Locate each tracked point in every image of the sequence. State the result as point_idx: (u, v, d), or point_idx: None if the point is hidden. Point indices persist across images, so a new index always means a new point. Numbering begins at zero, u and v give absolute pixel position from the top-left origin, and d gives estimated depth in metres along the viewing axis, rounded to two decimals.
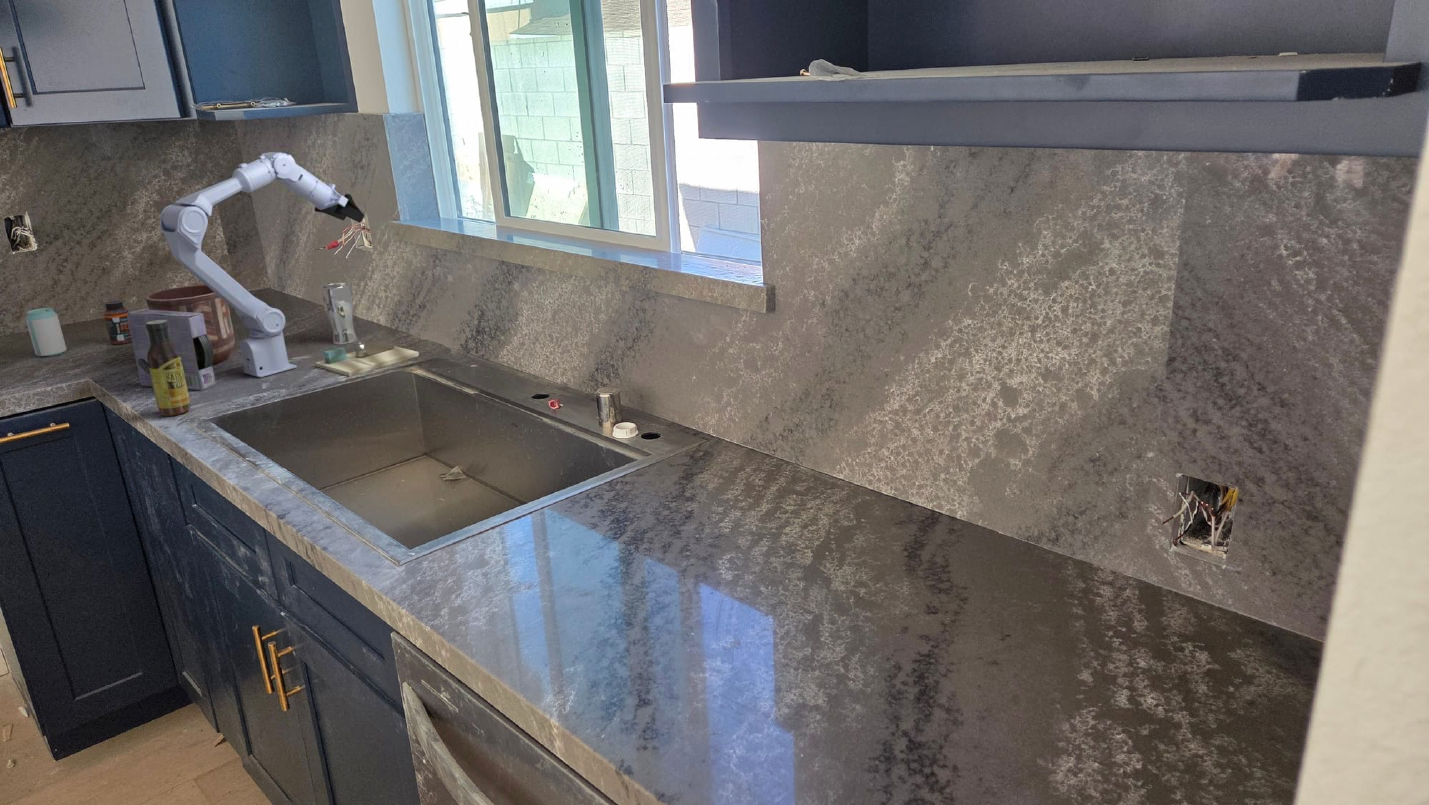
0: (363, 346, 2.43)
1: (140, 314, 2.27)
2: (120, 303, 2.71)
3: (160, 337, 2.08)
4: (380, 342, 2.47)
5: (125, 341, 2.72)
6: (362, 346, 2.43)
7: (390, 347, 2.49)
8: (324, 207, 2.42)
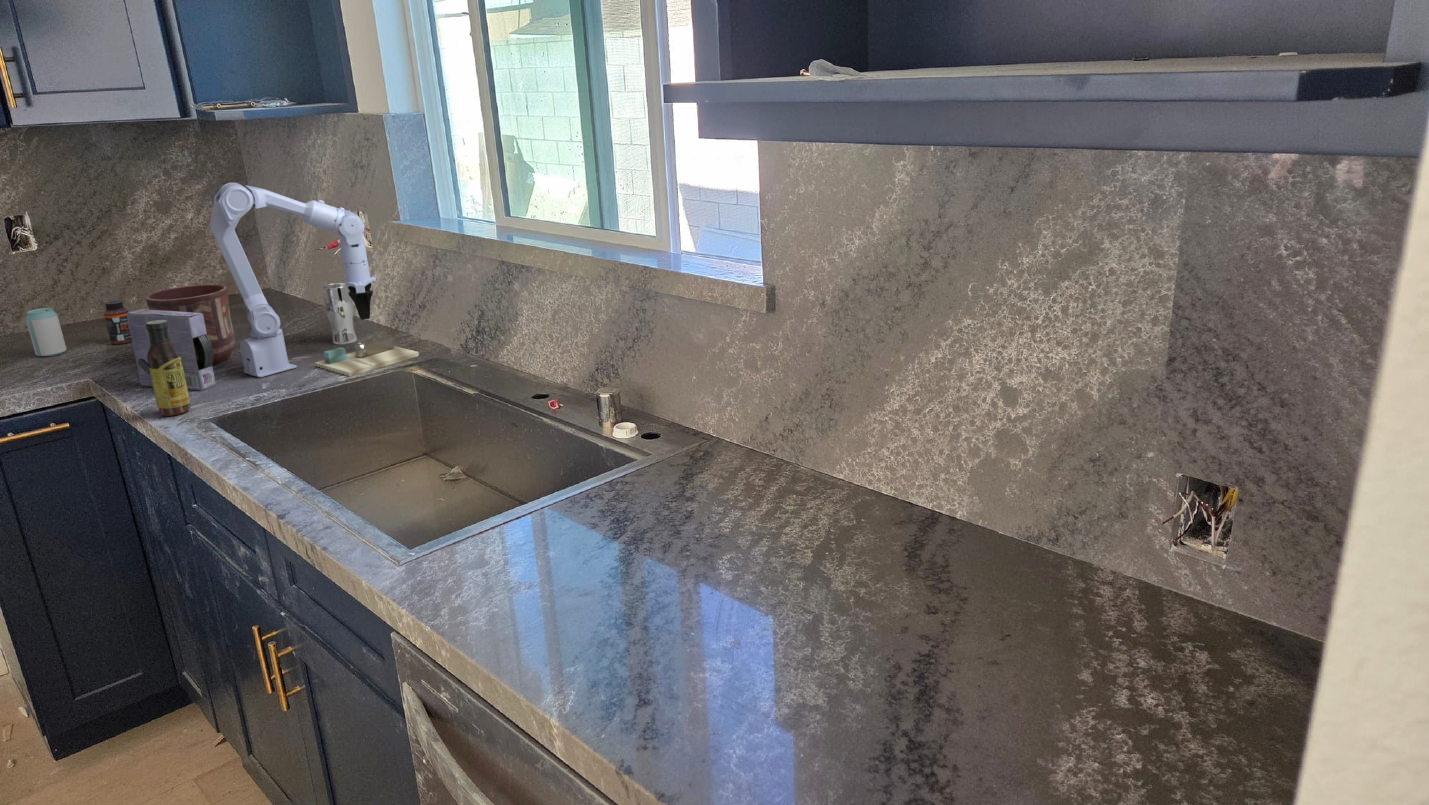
0: (363, 346, 2.43)
1: (140, 314, 2.27)
2: (120, 303, 2.71)
3: (160, 337, 2.08)
4: (380, 342, 2.47)
5: (125, 341, 2.72)
6: (362, 346, 2.43)
7: (390, 347, 2.49)
8: (348, 283, 2.43)
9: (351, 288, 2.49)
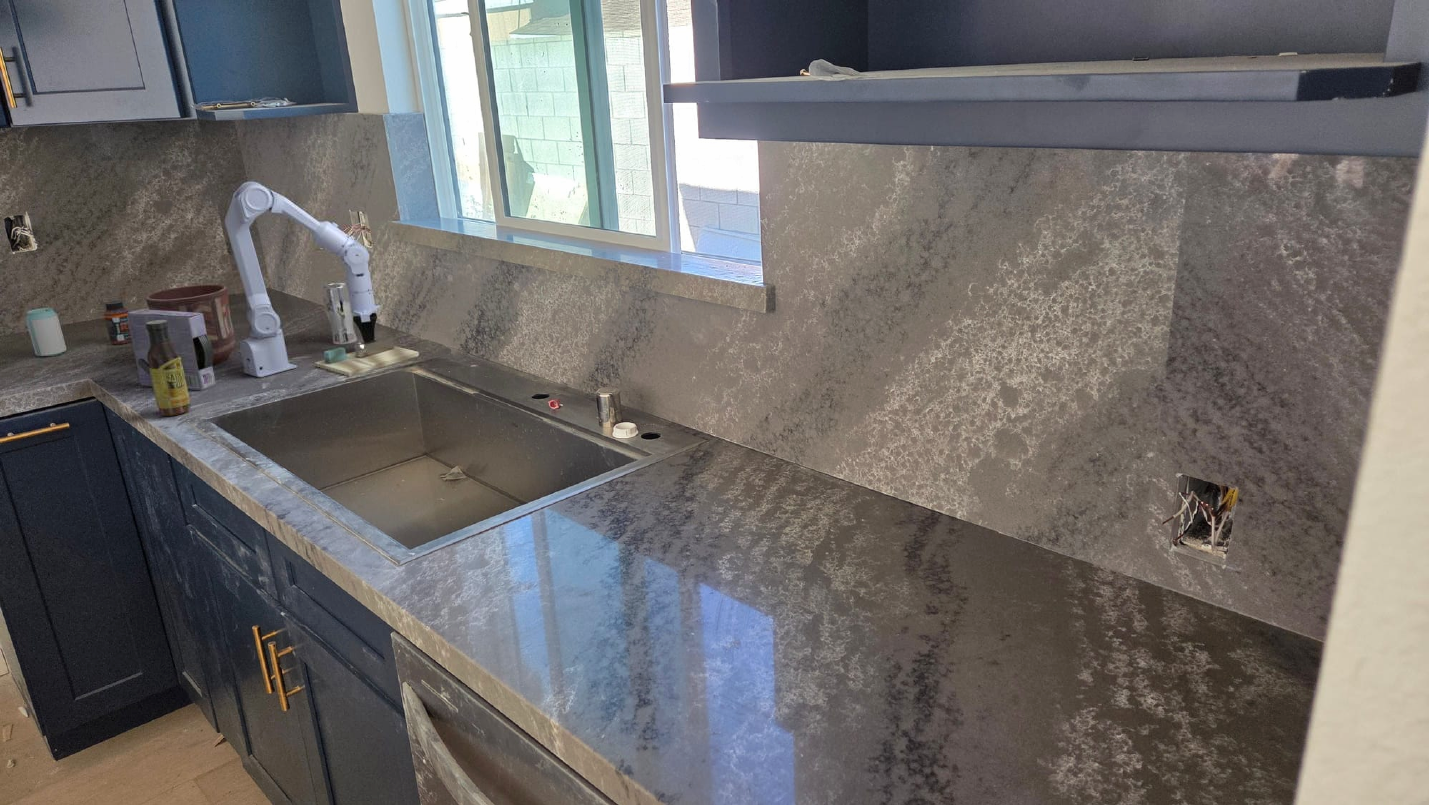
0: (363, 346, 2.43)
1: (140, 314, 2.27)
2: (120, 303, 2.71)
3: (160, 337, 2.08)
4: (380, 342, 2.47)
5: (125, 341, 2.72)
6: (362, 346, 2.43)
7: (390, 347, 2.49)
8: (353, 312, 2.46)
9: None
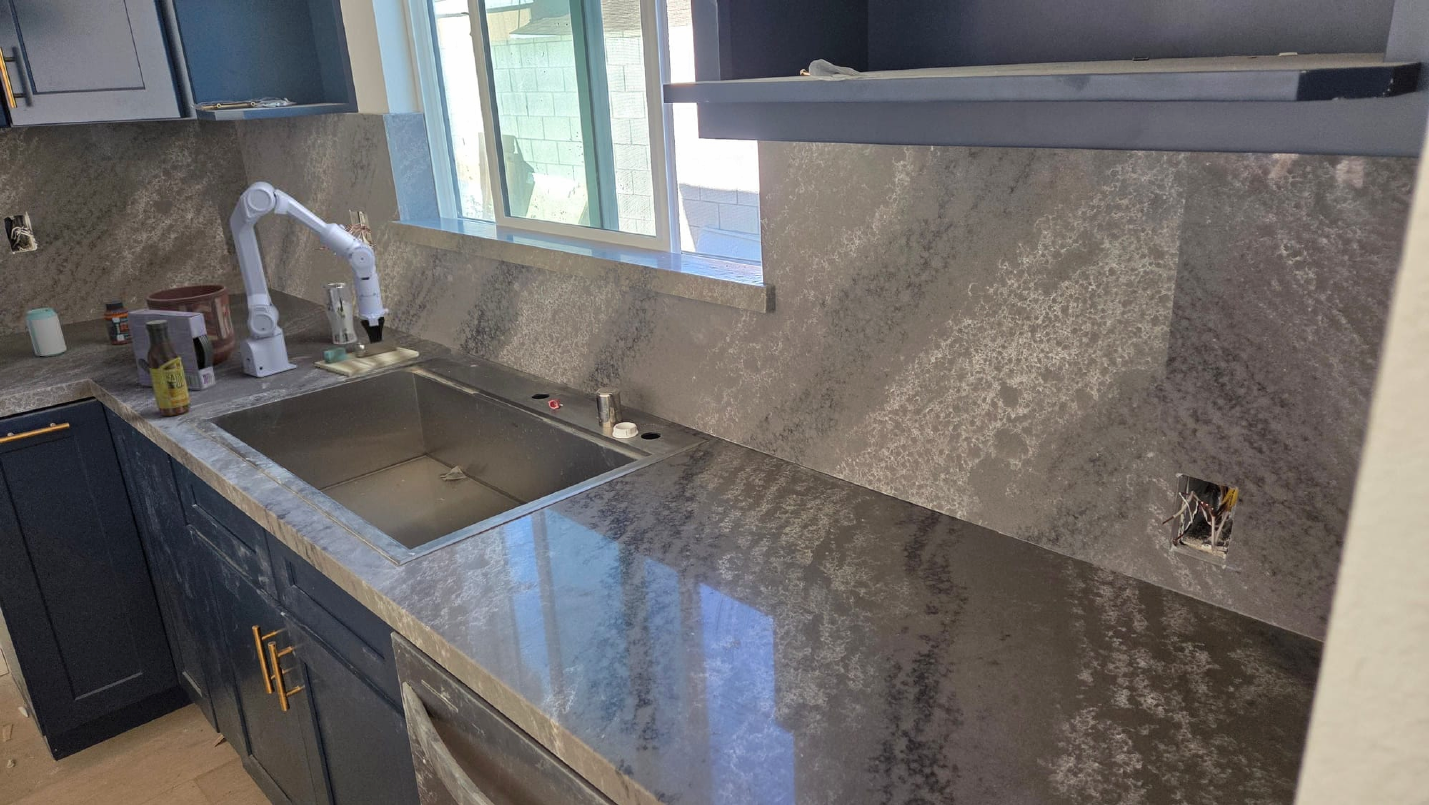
0: (362, 346, 2.43)
1: (140, 314, 2.27)
2: (120, 303, 2.71)
3: (160, 337, 2.08)
4: (381, 343, 2.46)
5: (125, 341, 2.72)
6: (361, 346, 2.42)
7: (392, 348, 2.48)
8: (360, 315, 2.42)
9: None
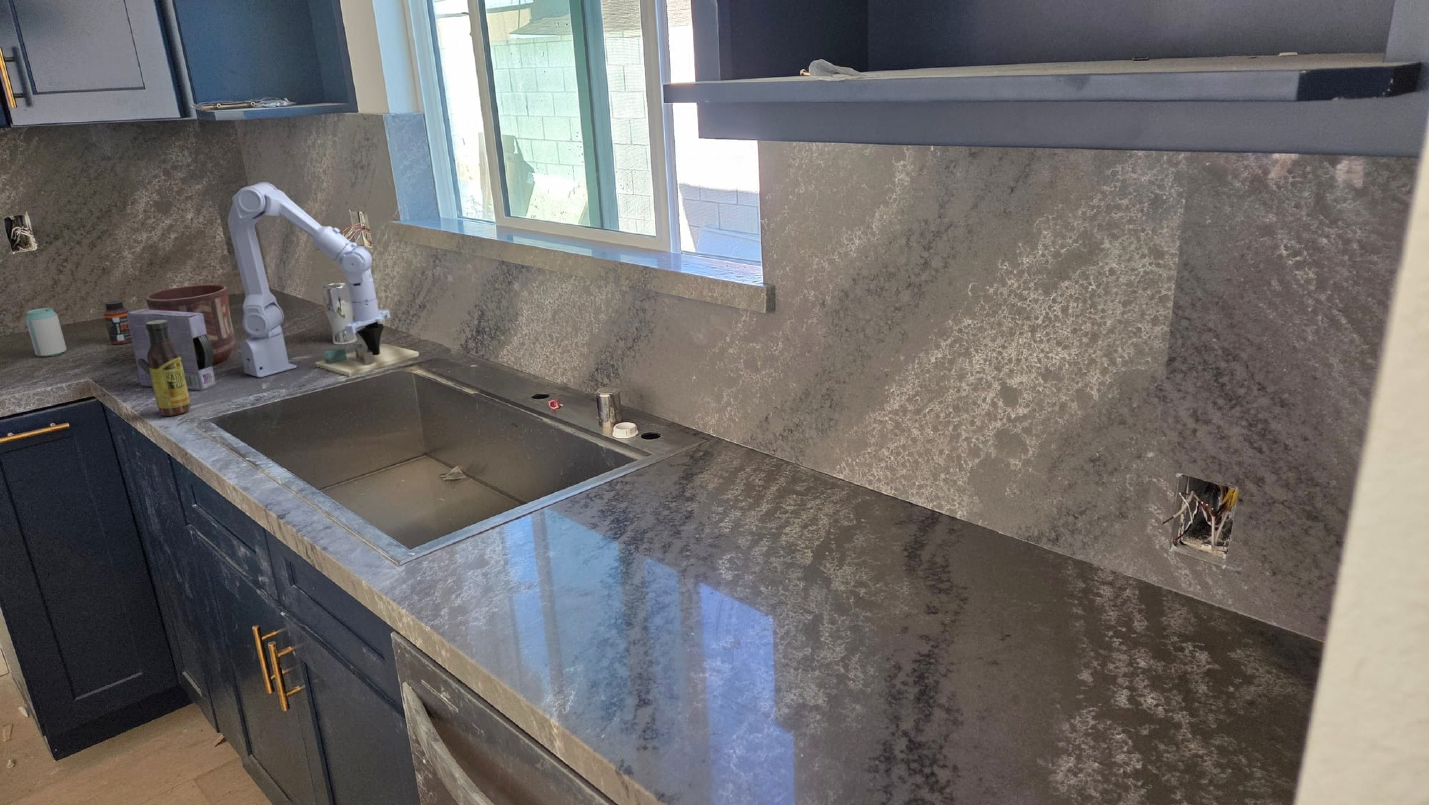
0: None
1: (140, 314, 2.27)
2: (120, 303, 2.71)
3: (160, 337, 2.08)
4: (360, 352, 2.39)
5: (125, 341, 2.72)
6: (354, 346, 2.43)
7: (364, 362, 2.38)
8: None
9: None
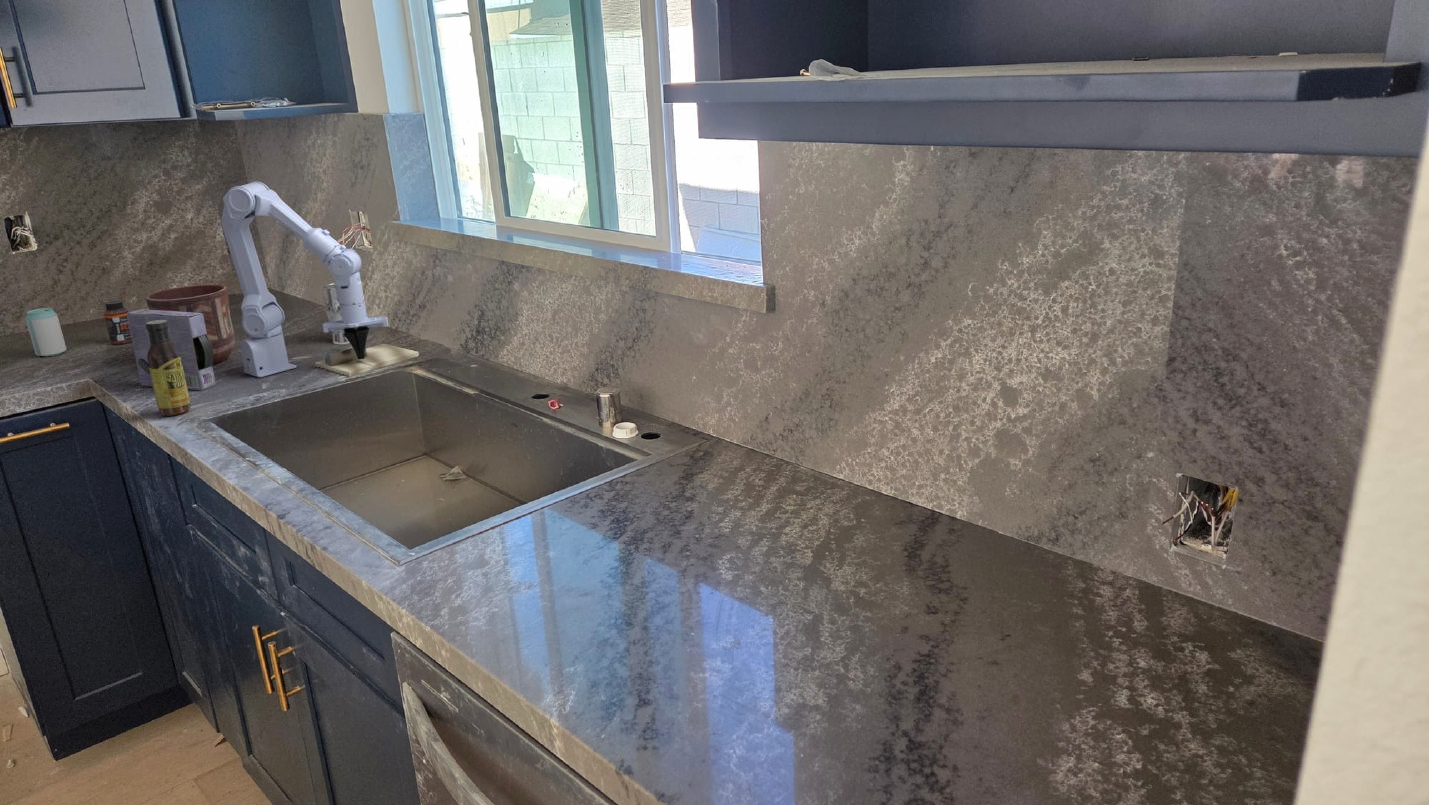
0: None
1: (140, 314, 2.27)
2: (120, 303, 2.71)
3: (160, 337, 2.08)
4: None
5: (125, 341, 2.72)
6: None
7: None
8: None
9: None
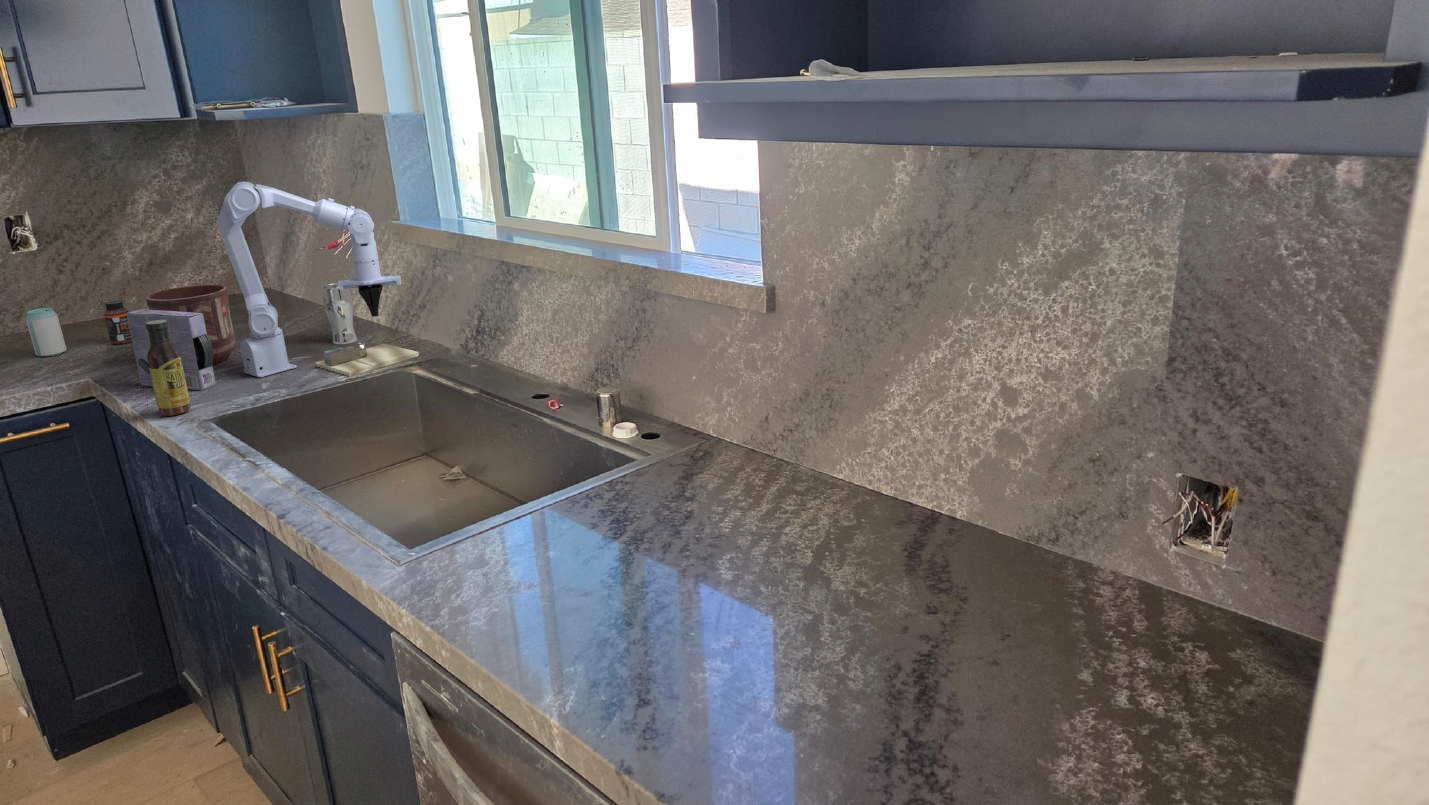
0: None
1: (140, 314, 2.27)
2: (120, 303, 2.71)
3: (160, 337, 2.08)
4: None
5: (125, 341, 2.72)
6: None
7: None
8: None
9: None
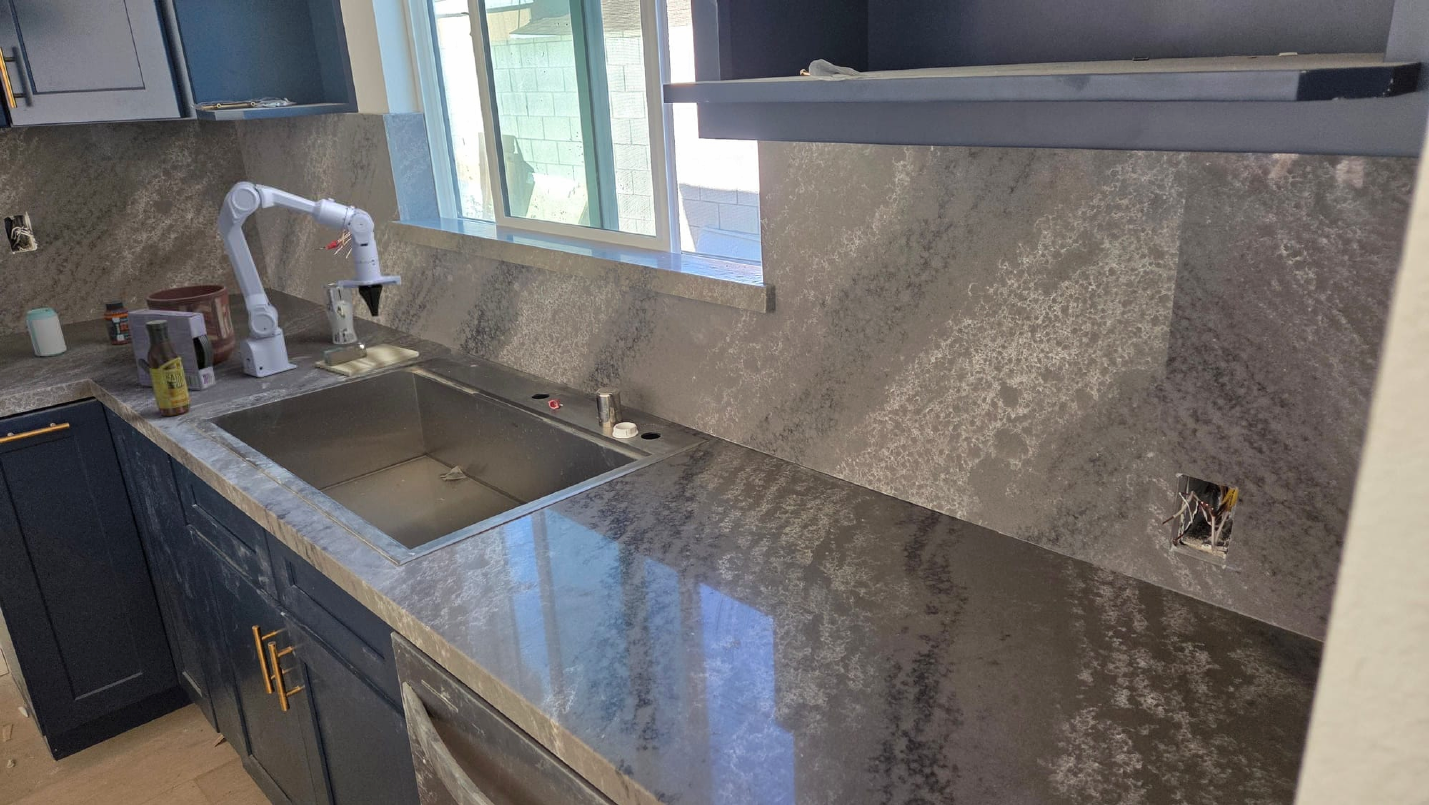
0: None
1: (140, 314, 2.27)
2: (120, 303, 2.71)
3: (160, 337, 2.08)
4: None
5: (125, 341, 2.72)
6: None
7: None
8: None
9: None
